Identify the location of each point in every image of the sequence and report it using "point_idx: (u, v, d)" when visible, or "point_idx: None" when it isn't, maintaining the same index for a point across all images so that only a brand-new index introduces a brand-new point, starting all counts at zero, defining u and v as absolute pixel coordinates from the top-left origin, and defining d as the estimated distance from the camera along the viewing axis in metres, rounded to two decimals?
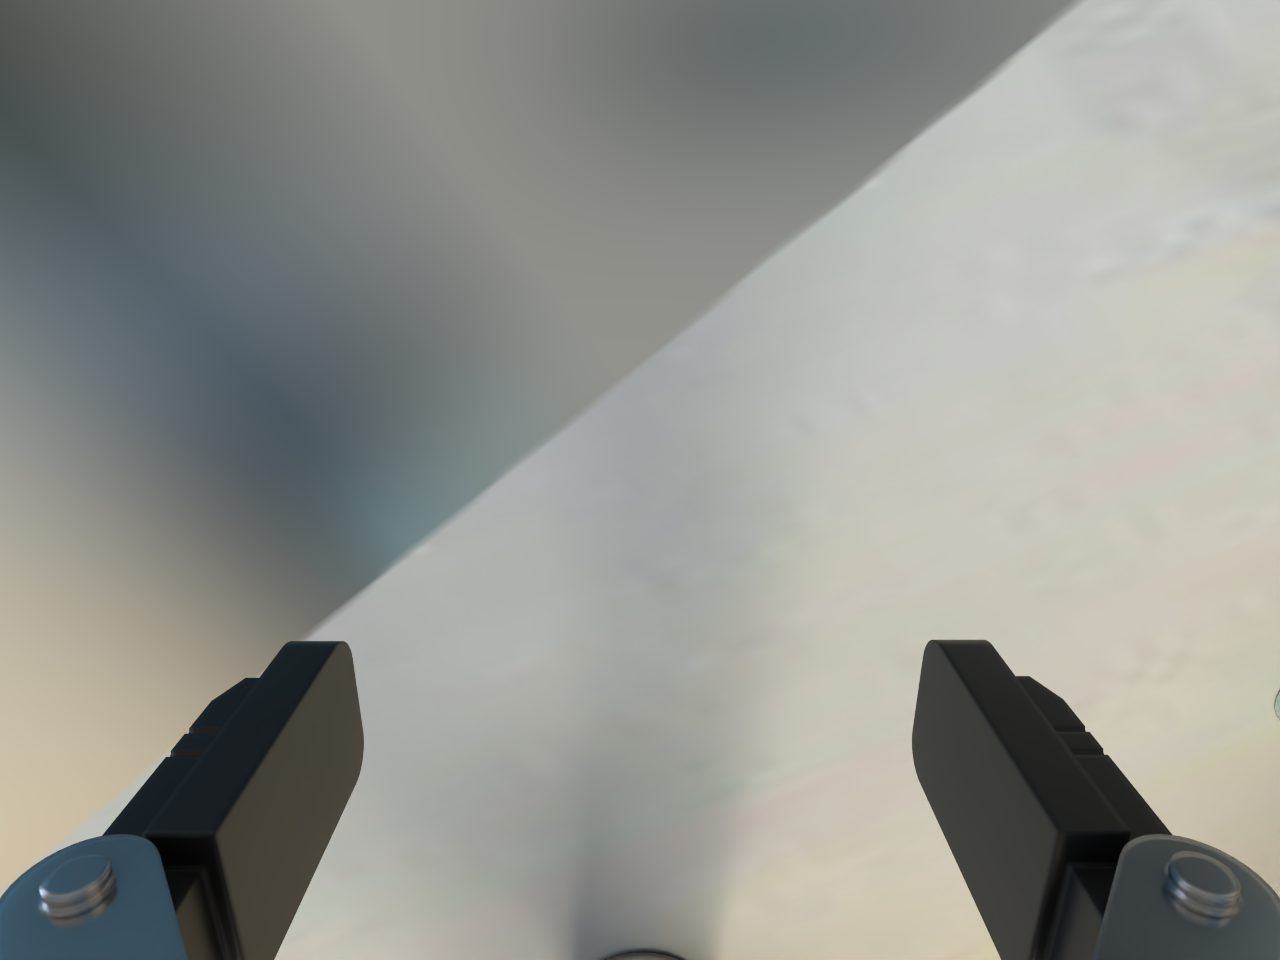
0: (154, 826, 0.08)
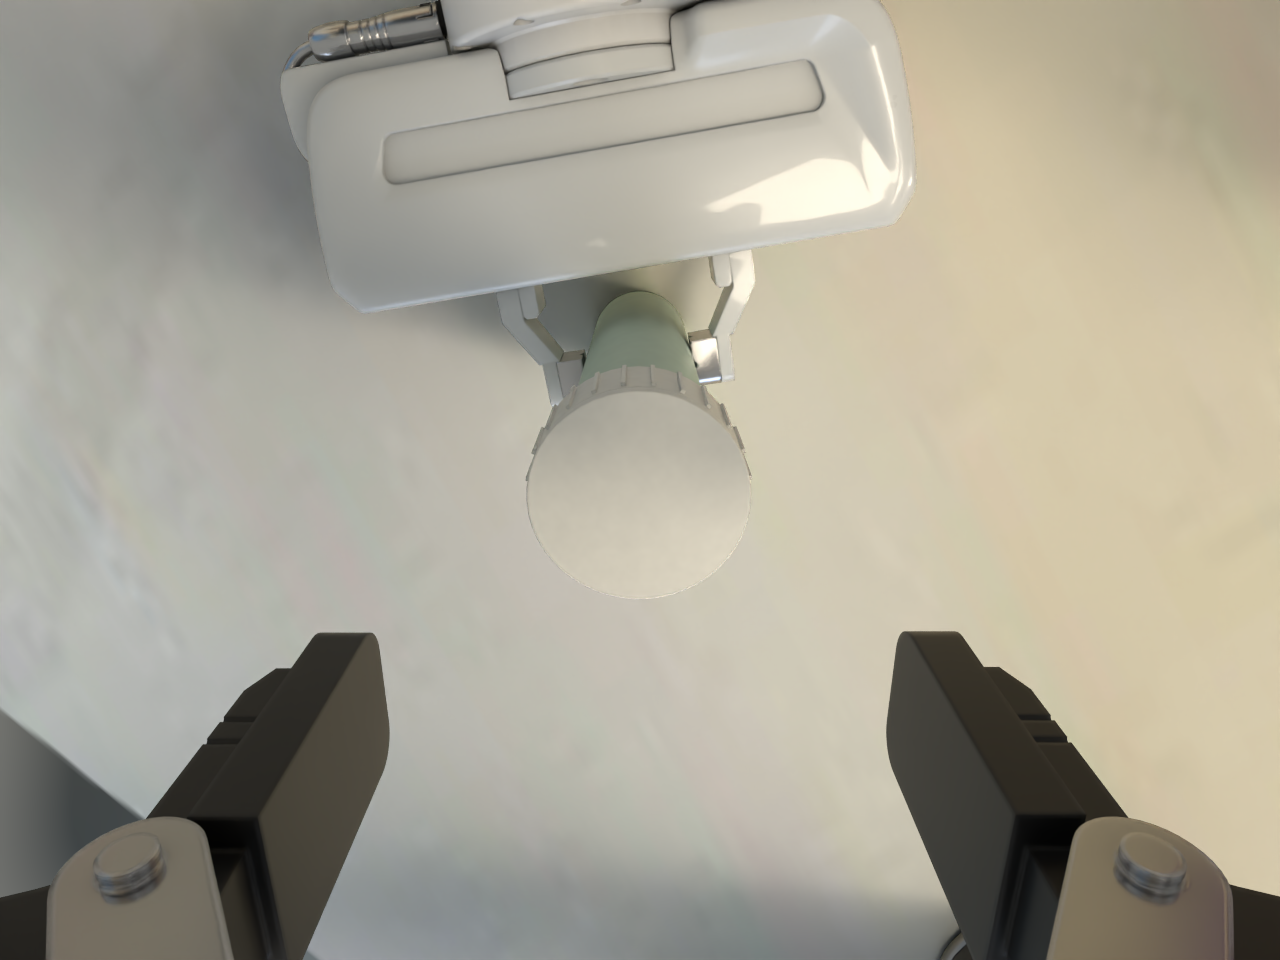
0: (198, 809, 0.08)
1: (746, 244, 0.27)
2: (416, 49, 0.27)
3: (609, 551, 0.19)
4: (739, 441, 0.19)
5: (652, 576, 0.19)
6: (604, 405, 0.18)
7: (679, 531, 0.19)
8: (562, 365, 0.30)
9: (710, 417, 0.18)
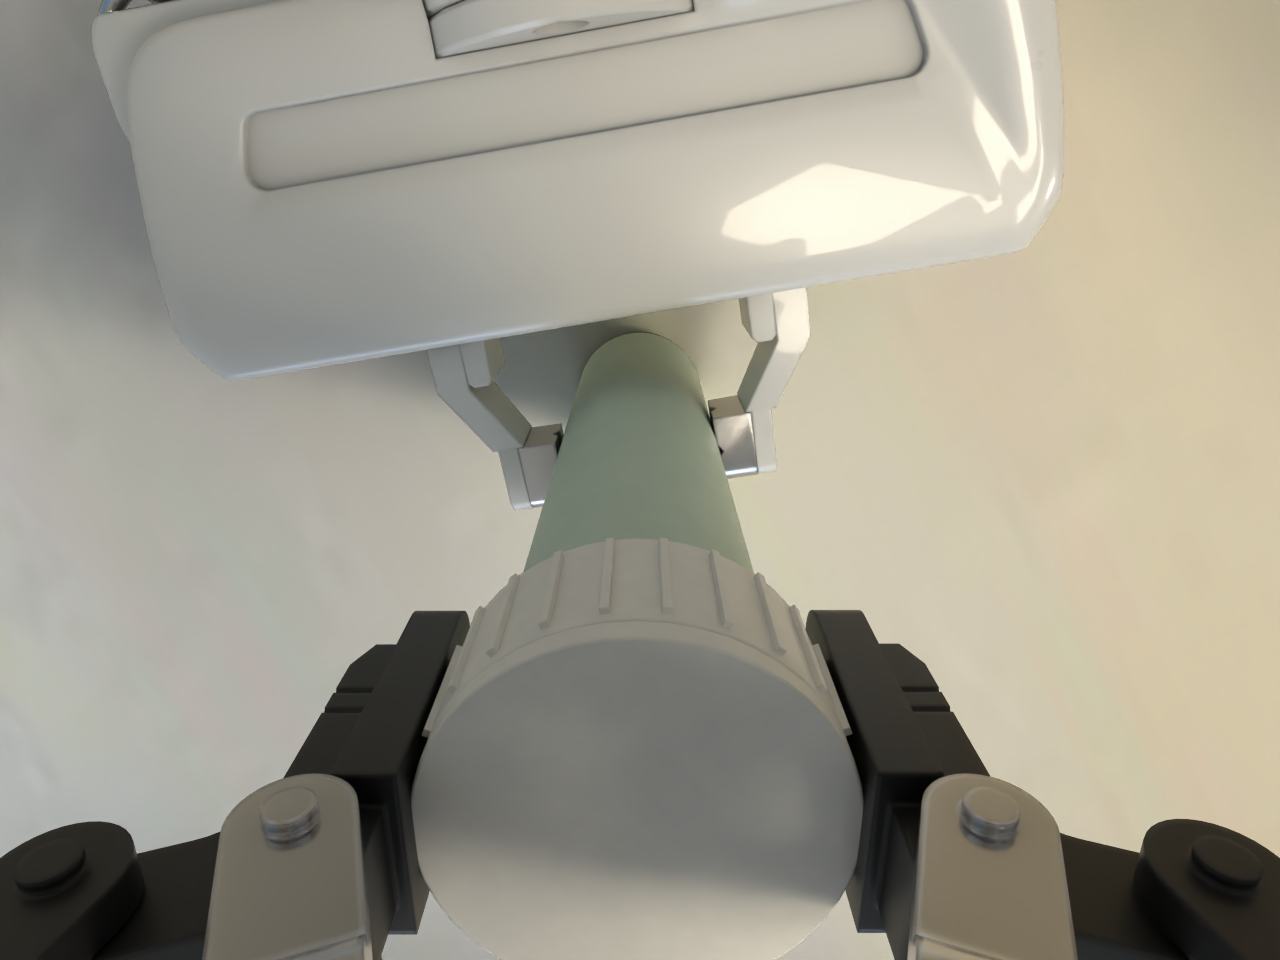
0: (338, 768, 0.08)
1: (800, 280, 0.18)
2: None
3: (579, 920, 0.09)
4: (834, 698, 0.10)
5: None
6: (564, 664, 0.08)
7: (718, 888, 0.09)
8: (527, 452, 0.20)
9: (787, 688, 0.08)
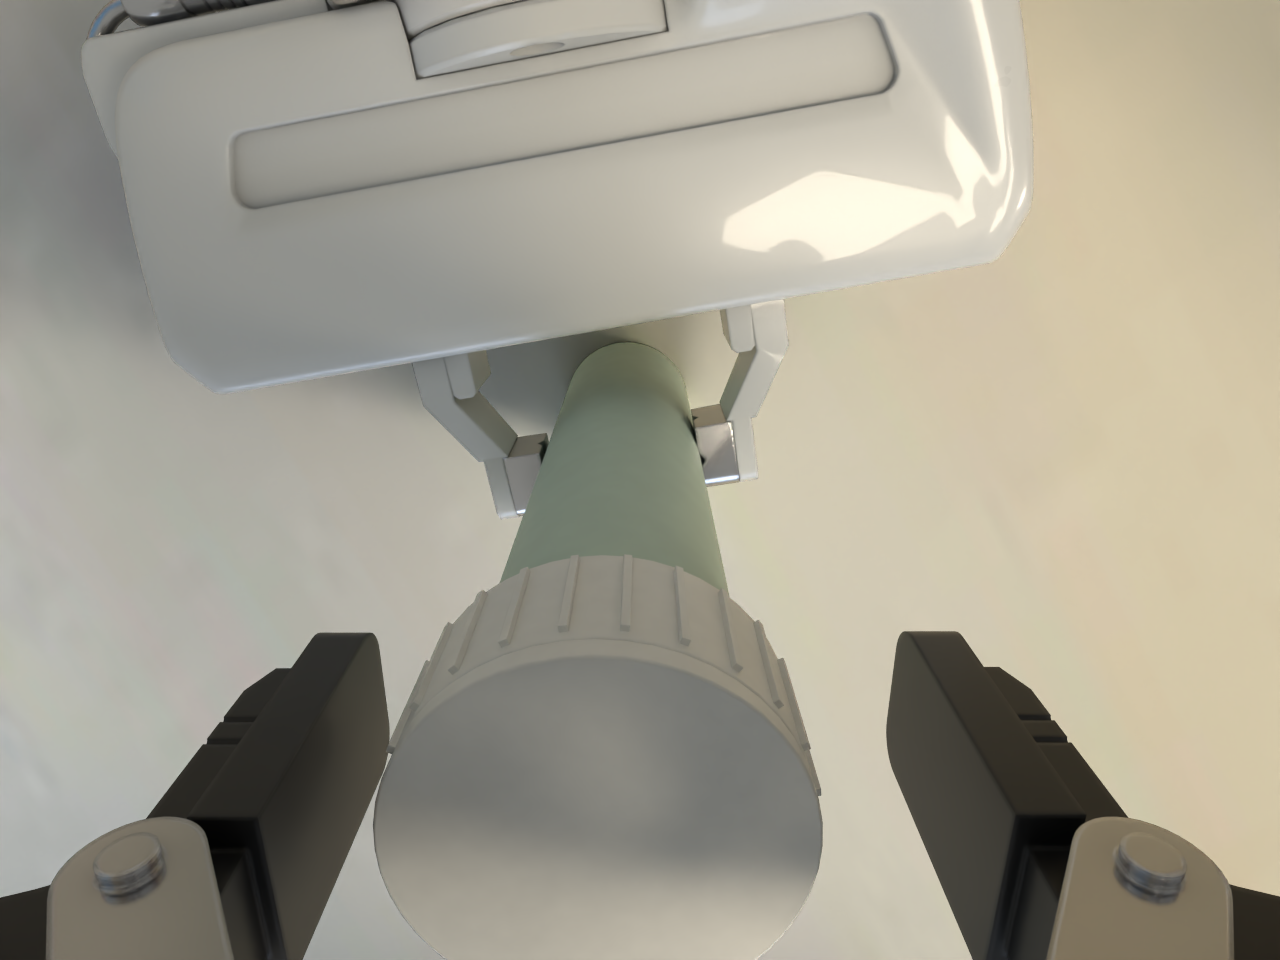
0: (198, 809, 0.08)
1: (776, 292, 0.18)
2: (280, 6, 0.18)
3: (709, 895, 0.09)
4: None
5: (769, 827, 0.09)
6: (410, 898, 0.09)
7: (666, 783, 0.09)
8: (512, 462, 0.21)
9: (412, 736, 0.09)
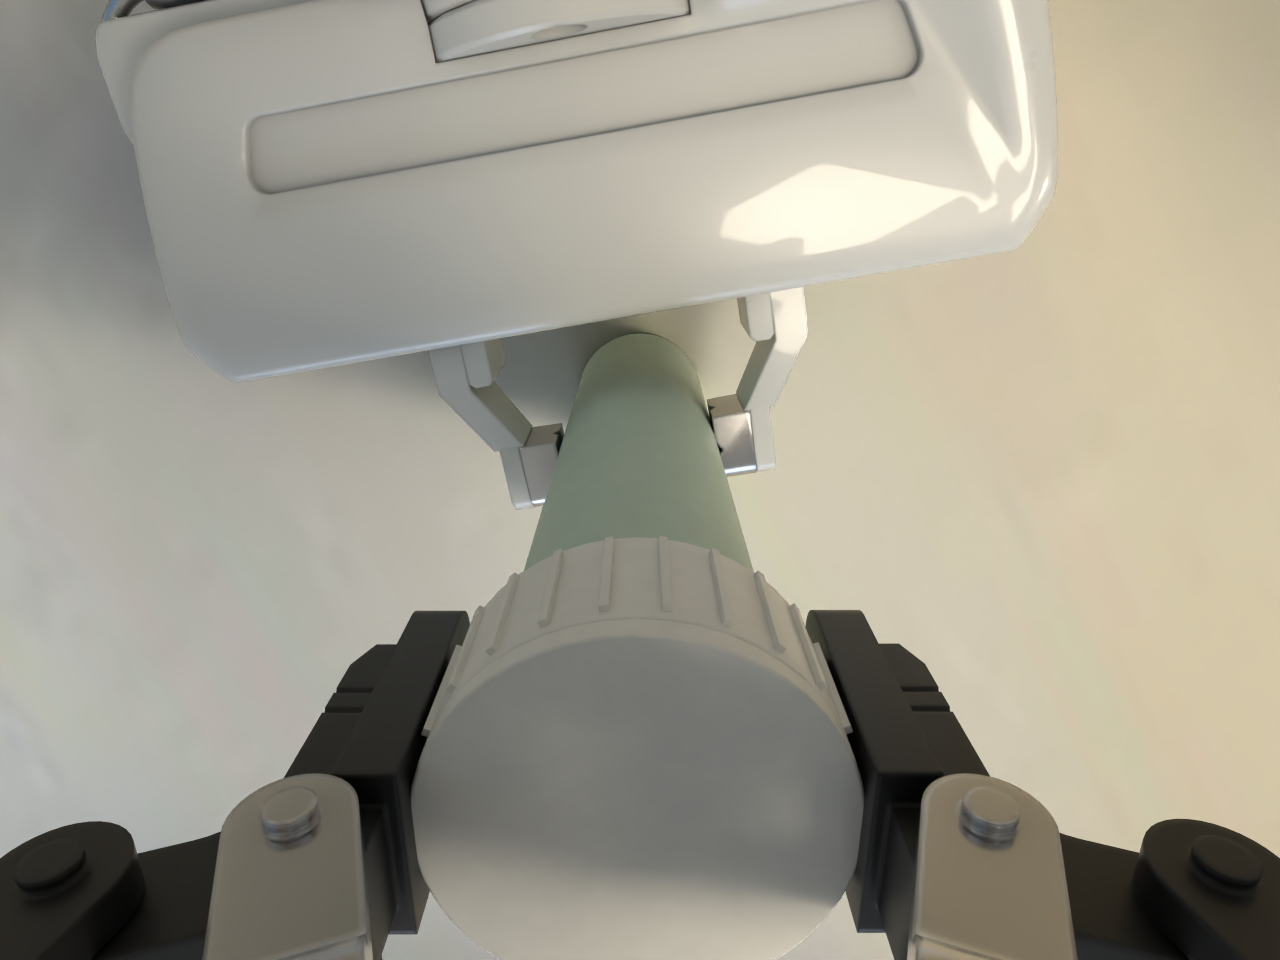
0: (338, 768, 0.08)
1: (797, 280, 0.18)
2: None
3: (749, 880, 0.09)
4: (544, 599, 0.09)
5: (811, 811, 0.09)
6: (445, 884, 0.09)
7: (708, 766, 0.09)
8: (528, 451, 0.21)
9: (450, 717, 0.08)
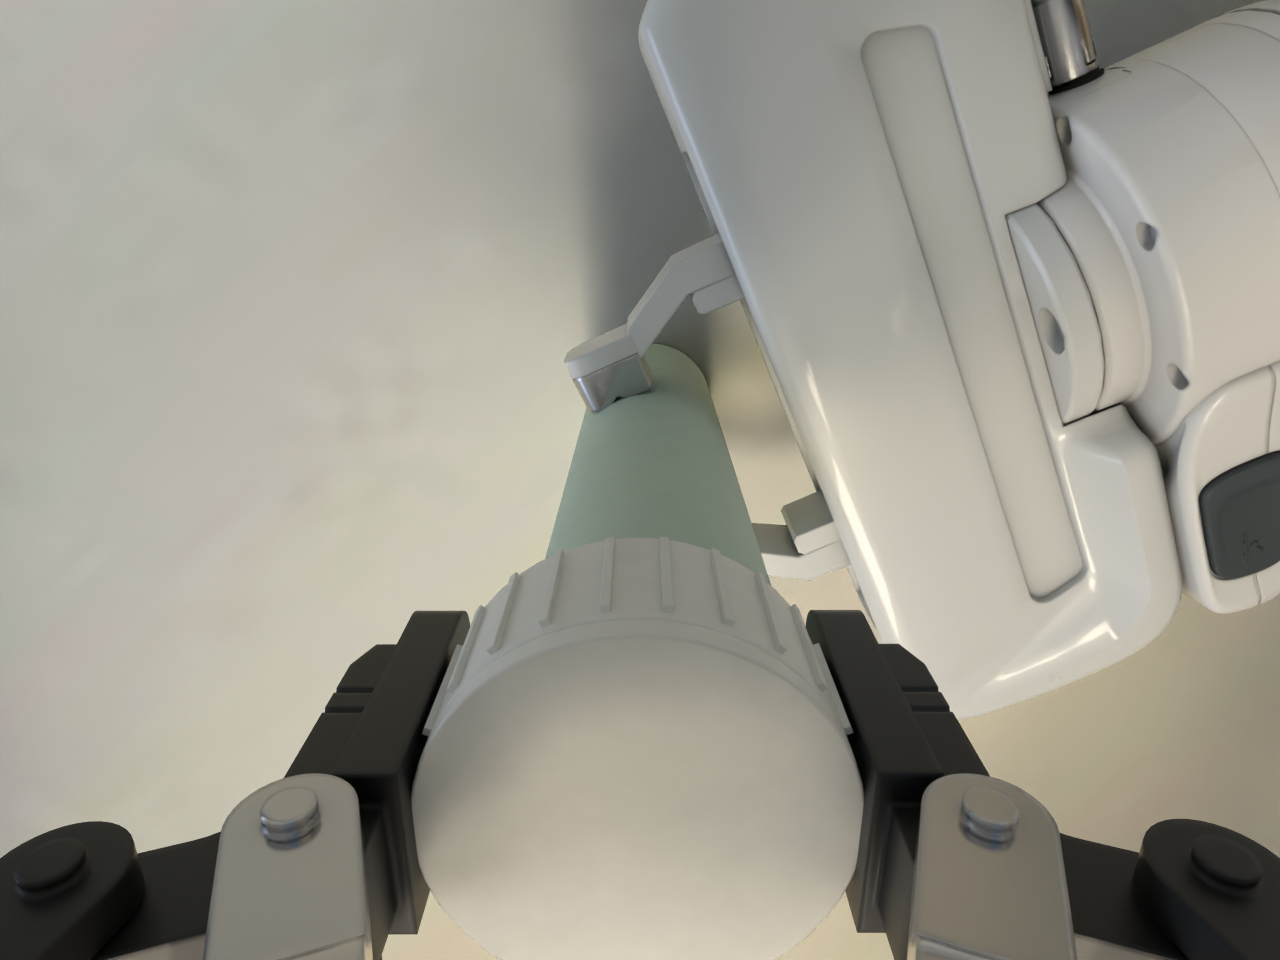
0: (339, 768, 0.08)
1: (862, 565, 0.21)
2: (1036, 47, 0.18)
3: (749, 881, 0.09)
4: (546, 599, 0.09)
5: (812, 812, 0.09)
6: (445, 883, 0.09)
7: (708, 766, 0.09)
8: (635, 363, 0.20)
9: (451, 716, 0.08)
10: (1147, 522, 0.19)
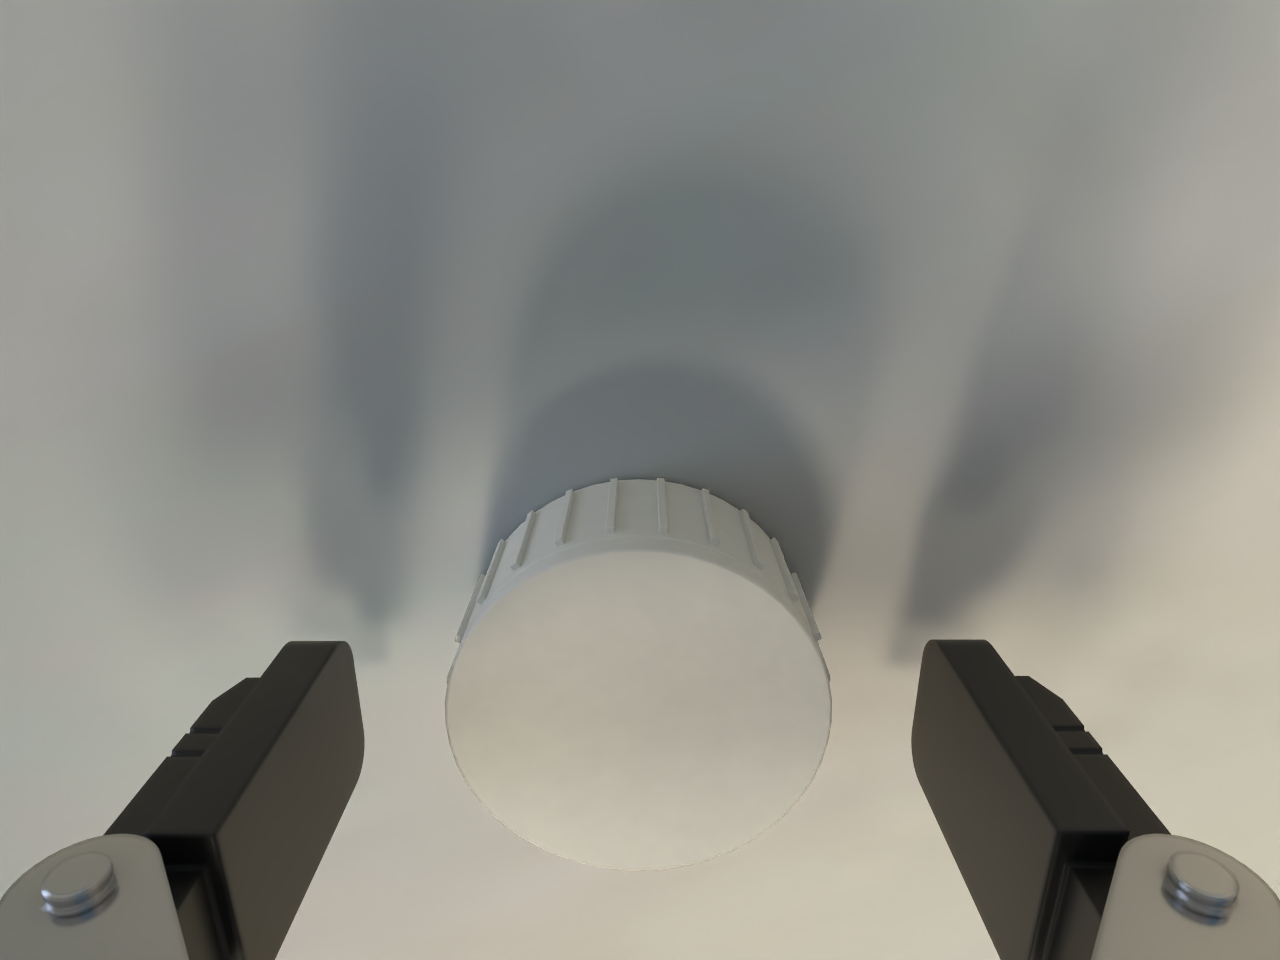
0: (155, 825, 0.08)
1: None
2: None
3: (733, 765, 0.11)
4: (559, 526, 0.11)
5: (786, 703, 0.11)
6: (475, 769, 0.11)
7: (698, 663, 0.10)
8: None
9: (481, 620, 0.10)
10: None
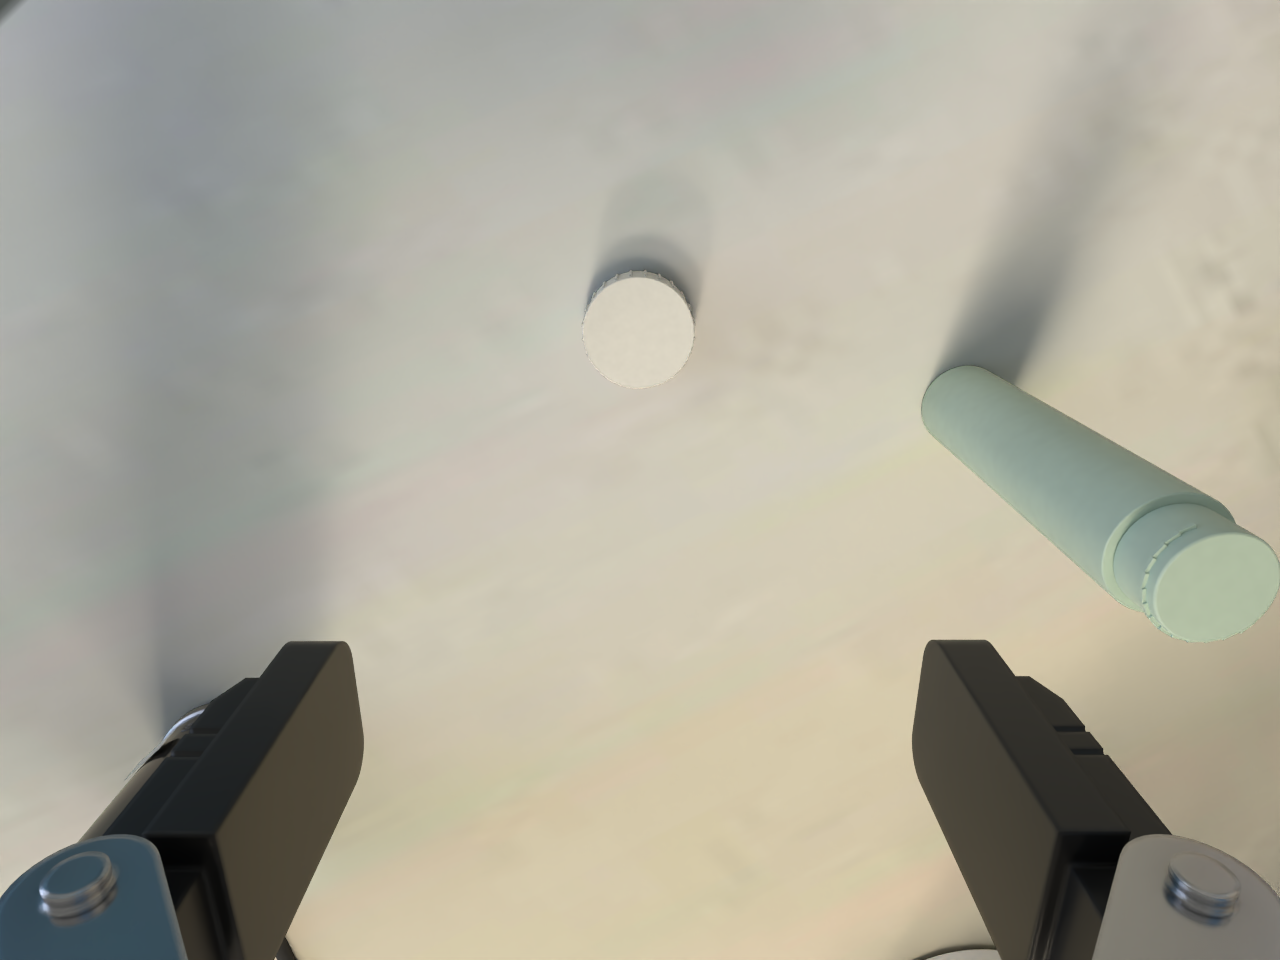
0: (154, 826, 0.08)
1: None
2: None
3: (666, 349, 0.37)
4: (615, 278, 0.37)
5: (680, 327, 0.37)
6: (590, 350, 0.37)
7: (655, 313, 0.36)
8: None
9: (594, 299, 0.36)
10: None
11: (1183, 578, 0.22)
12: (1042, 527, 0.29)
